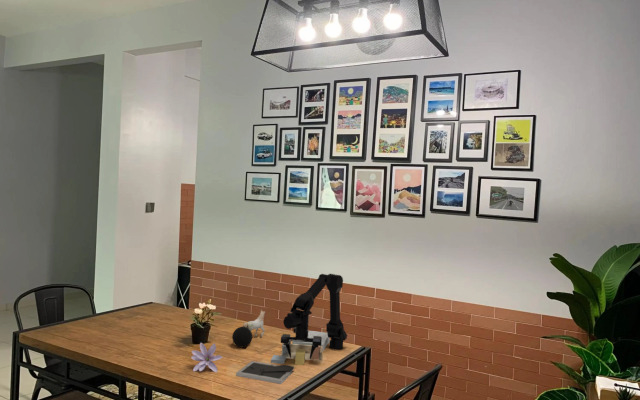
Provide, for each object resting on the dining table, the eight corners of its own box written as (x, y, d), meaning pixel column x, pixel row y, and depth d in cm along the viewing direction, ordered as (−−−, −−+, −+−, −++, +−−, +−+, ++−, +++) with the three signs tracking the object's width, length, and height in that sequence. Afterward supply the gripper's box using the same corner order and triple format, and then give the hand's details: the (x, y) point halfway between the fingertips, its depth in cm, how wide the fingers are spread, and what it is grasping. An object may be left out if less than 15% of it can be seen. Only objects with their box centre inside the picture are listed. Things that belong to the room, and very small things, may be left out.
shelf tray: (322, 356, 238) (322, 345, 238) (321, 363, 228) (322, 352, 228) (281, 353, 239) (282, 343, 239) (279, 360, 229) (280, 349, 229)
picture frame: (294, 372, 216) (251, 365, 223) (294, 366, 216) (251, 359, 223) (281, 385, 201) (235, 377, 208) (281, 379, 201) (236, 370, 207)
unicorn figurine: (270, 334, 268) (271, 310, 268) (250, 343, 251) (251, 318, 251) (259, 332, 272) (260, 308, 271) (238, 341, 254) (240, 315, 254)
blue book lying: (285, 362, 228) (286, 355, 228) (283, 367, 221) (283, 360, 221) (273, 361, 228) (273, 354, 228) (270, 366, 222) (271, 359, 222)
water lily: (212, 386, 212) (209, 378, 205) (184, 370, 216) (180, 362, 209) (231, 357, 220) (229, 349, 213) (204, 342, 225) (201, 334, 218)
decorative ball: (228, 347, 243) (229, 328, 242) (238, 342, 252) (239, 323, 252) (245, 351, 239) (246, 331, 239) (255, 345, 249) (256, 326, 248)
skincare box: (291, 351, 243) (322, 354, 240) (291, 340, 243) (322, 343, 240) (301, 339, 264) (330, 342, 260) (301, 329, 264) (330, 331, 260)
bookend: (289, 352, 237) (290, 342, 237) (288, 356, 231) (288, 346, 231) (283, 352, 237) (284, 342, 237) (282, 356, 231) (282, 346, 231)
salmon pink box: (319, 354, 237) (319, 342, 237) (318, 359, 230) (319, 346, 230) (313, 354, 237) (313, 341, 237) (312, 358, 230) (313, 346, 230)
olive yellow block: (304, 363, 228) (305, 349, 227) (303, 367, 222) (304, 353, 221) (296, 362, 228) (296, 348, 228) (295, 367, 222) (295, 353, 222)
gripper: (322, 321, 232) (321, 353, 232) (284, 318, 233) (282, 351, 233) (322, 327, 221) (320, 361, 221) (281, 325, 222) (279, 359, 222)
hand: (300, 358), depth 225 cm, fingers open, 9 cm apart
